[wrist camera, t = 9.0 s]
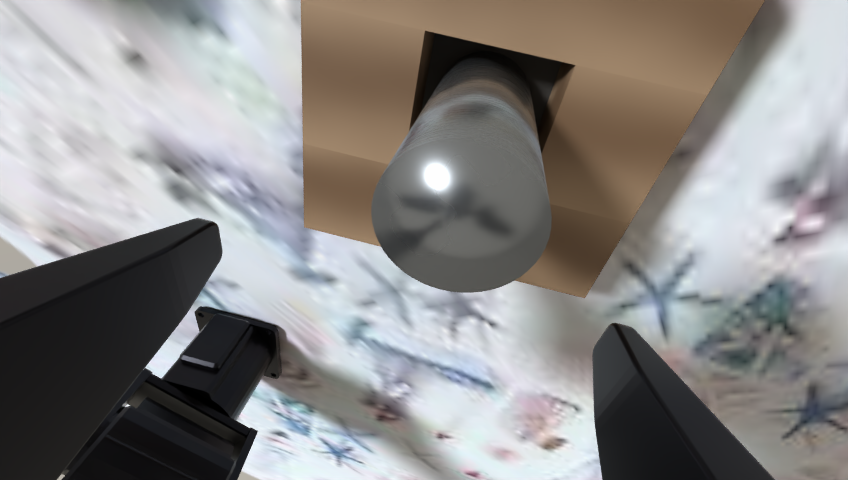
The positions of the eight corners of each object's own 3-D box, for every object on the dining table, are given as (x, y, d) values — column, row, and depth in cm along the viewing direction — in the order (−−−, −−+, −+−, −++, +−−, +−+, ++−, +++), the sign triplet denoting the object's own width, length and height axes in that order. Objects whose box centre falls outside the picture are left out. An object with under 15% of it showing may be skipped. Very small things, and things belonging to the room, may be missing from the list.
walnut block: (574, 254, 21) (584, 298, 18) (330, 193, 22) (304, 227, 19) (744, -66, 13) (810, -76, 10) (342, -151, 13) (297, -182, 11)
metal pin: (513, 155, 18) (517, 309, 10) (429, 134, 18) (364, 269, 10) (544, 63, 15) (583, 166, 7) (447, 41, 16) (380, 117, 7)
